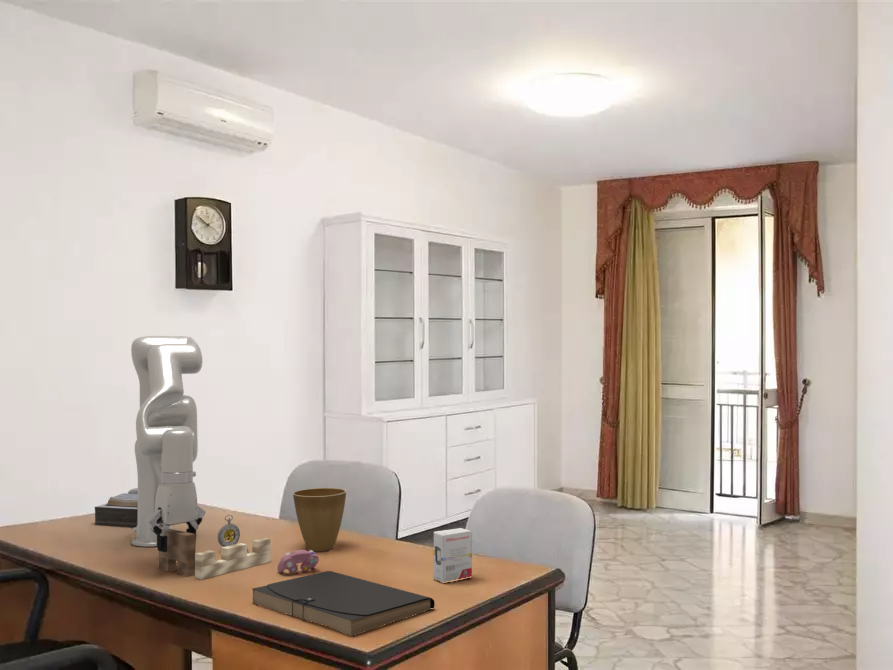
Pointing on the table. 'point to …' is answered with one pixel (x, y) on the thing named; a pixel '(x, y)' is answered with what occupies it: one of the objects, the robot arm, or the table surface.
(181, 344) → the robot arm
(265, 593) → the file folder
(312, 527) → the plant pot
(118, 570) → the table surface
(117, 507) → the dark grey storage box
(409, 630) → the table surface
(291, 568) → the video game controller
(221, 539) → the pocket watch
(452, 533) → the ink box
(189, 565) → the walnut plate
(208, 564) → the wooden crenellated block
